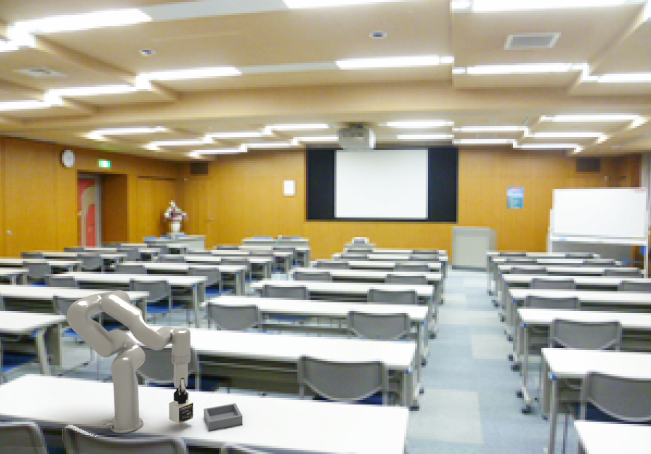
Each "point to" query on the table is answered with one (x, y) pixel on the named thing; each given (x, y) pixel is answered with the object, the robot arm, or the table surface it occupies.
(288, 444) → the table surface
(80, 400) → the table surface
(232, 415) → the box
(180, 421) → the medicine bottle
